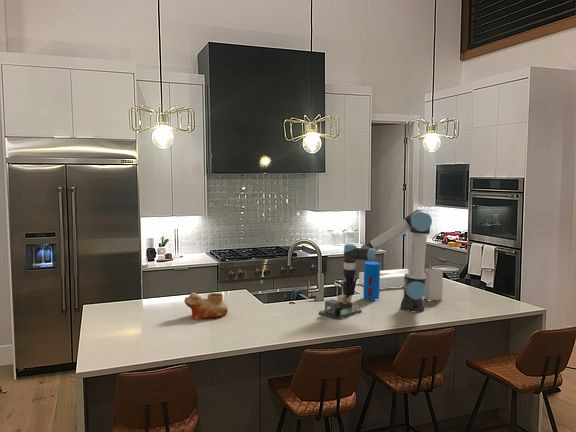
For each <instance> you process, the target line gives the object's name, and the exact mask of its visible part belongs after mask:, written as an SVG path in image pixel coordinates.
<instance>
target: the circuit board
mask: <svg viewBox="0 0 576 432" xmlns="http://www.w3.org/2000/svg"><path fill="white" fill-rule="evenodd" d="M328 306H332V307H331V310H327V309H326V307H328ZM359 307H360V306H359V305H355V306H353V307H352V311H351V308H346V309H343V310H342V302H341V301H338V299H337V300H336V299H333V298H332V299H328V300H325V301H324V309H323V310H319V311H318V314H319V315H321V316H324V317H328V318H331V319H334V320H339V318H340V319H343V318H342V317H344V318H347V317H350V316H349V315H351V316H354V315H357V314H356V313H358V314H361V313H360V312H362V313H363V311H362V309H360V308H359ZM353 314H354V315H353ZM346 316H347V317H346Z"/></svg>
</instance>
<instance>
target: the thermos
mask: <svg viewBox="0 0 576 432" xmlns="http://www.w3.org/2000/svg"><path fill="white" fill-rule="evenodd" d="M380 271H381V263H380V262H378V261H364V266H363V272H364V286H363V290H362V291H363V300H365V299H368V300H375V299H379V300H380V290H379V287H380ZM368 300H367V301H368Z"/></svg>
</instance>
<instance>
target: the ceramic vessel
mask: <svg viewBox="0 0 576 432" xmlns="http://www.w3.org/2000/svg"><path fill="white" fill-rule="evenodd" d="M223 298H224V294H222V293H217V292H209V293H208V294H207V298H203V297H202V296H201V295H199V294H198V293H197V292H190V294H189V295H188V296H186V297H185V298H184V304H185V305H186V306H187V307H189V308H190V309H191V318H192V319H193V320H194V321H201V320H212V319H213V320H215V319H217V320H218V319H221V318H223V317H225V316H227V315H228V312H229V311H228V305H227V304H226V302H224V301H223Z"/></svg>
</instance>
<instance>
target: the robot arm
mask: <svg viewBox="0 0 576 432" xmlns="http://www.w3.org/2000/svg"><path fill="white" fill-rule="evenodd" d="M432 221H433V219H432V217H431V215H430V213H429V212H427V211H425V210H424V209H416V210H413V211H412V212H411V213H409V214H408V215H407V216H406V217H403V220H402V221H401V222H398V223H397V224H396V225H394V226H392V227H391V228H390V229H388V230H387V231H384V232H383V233H381V234H380V235H378V236H376V237H375V238H373V239H372V240H370V241H369V242H367V243H365V244H362V245H361V247H357V244H354V243H346V244H345V245H344V248H343V249H344V250H343V275H344V277H343V280H341V281H340V282H341V286H342V293H343V296H347V297H350V302H352V297H353V296H354V294H355V291H356V290H355V289H356V285H357V281H358V278H356V277H355V276H356V272H357V271H356V266H357V265H356V264H357V262H356V261H368V262H371V261H375V260H376V252H378V251H380V250H381V249H382V248H384V247H386V246H387V245H389V244H390V243H393V242H394V241H396V240H397V239H400V238H401V237H403V236H404V235H405V234H407V233H409V232H410V234H411V235H412V236H411V246H410V247H411V248H410V249H411V251H410V261H409V271H408V273H406V274H405V276H404V288H403V298H402V299H401V303H400V309H401V308H402V309H404V310H403V311H405V310H409V311H408V312H411V311H420V312H423V311H422V310H424V309H426V308H425V304H424V295H425V293H426V287H425V284H426V277H425V276H424V274H425V266H426V265H425V264H426V263H425V262H426V250H427V249H426V248H427V239H428V236H429V235H430V234H431V226H432V224H433V223H432ZM402 309H401V310H402ZM424 311H425V310H424Z"/></svg>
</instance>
